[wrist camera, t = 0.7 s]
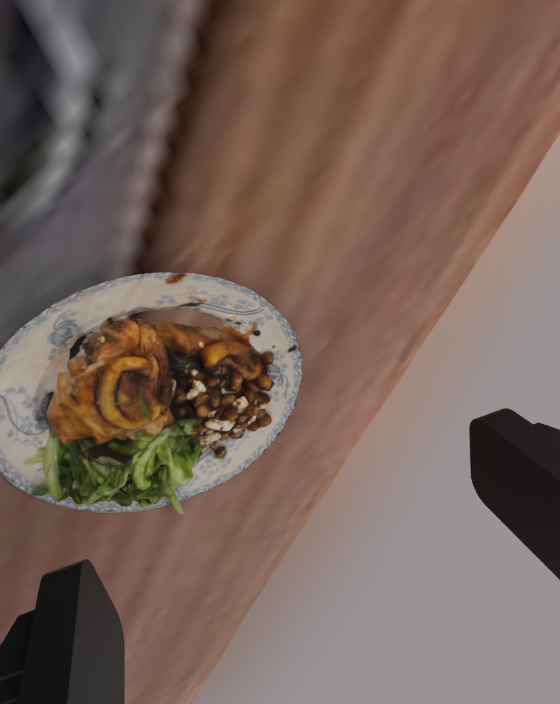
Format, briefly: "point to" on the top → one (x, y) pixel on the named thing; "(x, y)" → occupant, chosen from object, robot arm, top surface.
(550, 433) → the robot arm
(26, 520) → the top surface
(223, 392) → the plate of food
